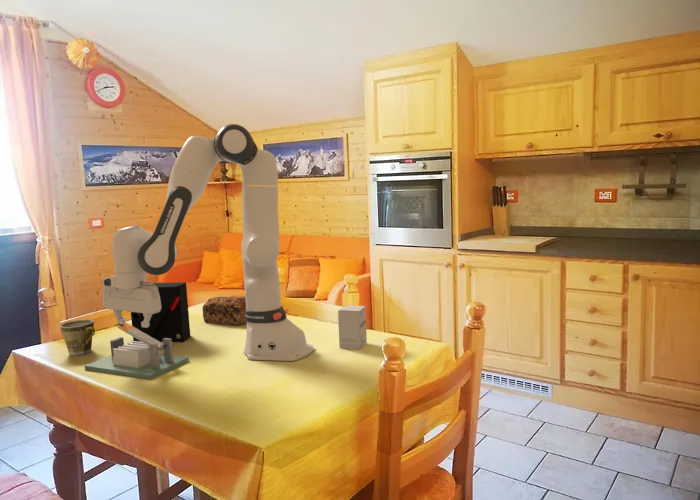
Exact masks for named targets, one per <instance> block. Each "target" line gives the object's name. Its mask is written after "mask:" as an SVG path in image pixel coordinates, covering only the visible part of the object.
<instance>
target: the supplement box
mask: <svg viewBox="0 0 700 500" xmlns="http://www.w3.org/2000/svg"><path fill="white" fill-rule="evenodd" d="M337 315H338V316H337V317H338V319H337V320H338V321H337V322H338V344H339V349H346V350H347V349H349V350H361V349H362V348H363V347H364V346H365V344H367V343H368V341H367V340H368V339H367V312H366V306H365V305H344V306H343V307H341V308H339V310H338V311H337Z"/></svg>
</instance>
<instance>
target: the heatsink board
mask: <svg viewBox="0 0 700 500" xmlns="http://www.w3.org/2000/svg"><path fill="white" fill-rule="evenodd" d="M109 343H110V350H111V351H110V352H111V355H109V356H107V357H104V358H101V359H98V360H96V361H93V362H91V363H87V364H86V365H84V370H85V371H93V372H99V373H106V374H111V373H112V374H111V375H118V374H119V376H126V377H132V378H139V379H145V380H152V379H155V378H156V377H159V376H160V375H162V374H164V373H167V372H169V371H171V370H173V369H175V368H177V367H180V366H181V365H184V364H185V363H188V362H190V359H189V356H180V355H175V354H174V353H173V342H172V340H171V339H170V338H164V339H163V342H162V343H163V344H166V345H167V347H166V348H164V349H163V353H161V350H159V351H158V344H153V343H151V344H149V346H148V345H146V344H145V343H143V342H138V341H133V340H132V341H131V342H128V343H127V344H125V342H124V337H122V336H120V337H117V338H114V339H112V340H109Z"/></svg>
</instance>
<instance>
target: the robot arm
mask: <svg viewBox="0 0 700 500" xmlns="http://www.w3.org/2000/svg"><path fill="white" fill-rule="evenodd" d="M218 163H225V164H237V165H238V166H239V167H240V169H241V177H242V178H241V179H242V180H241V182H242V183H241V185H242V186H241V188H242V189H241V192H242V194H241V195H242V197H241V199H242V200H241V202H242V203H241V206H242V207H241V210H242V211H241V213H242V216H241V217H242V241H241V246H240V247H241V259H242V270H243V282H244V293H245V296H244V297H245V298H246V309H245V320H246V335H245V336H246V337H245V338H246V339H245V346H244V350H243V353H244V355H245V356H246V357H247V360H252V361H253V360H254V361H256V360H257V361H281V362H282V361H283V362H284V361H285V362H286V361H287V362H292V361H293V362H294V361H297V360H300V359H303V358H305V357H307V356H309V355H310V354H311V353H313V351H314V349H315V348H314V345H313V344H309V343H307V339H306V338H307V337H306V335H305V332H304V331H303V329H301V328H300V327H299V326H297V325H296V324H295V323H293V322H292V321H291V320H290V319H288V318H287V317H288V316H287V314H289V309H284V306H282V301H281V300H282V298H281V283H280V277H279V275H280V274H279V269H278V259H279V256H280V250H281V249H280V247H281V246H280V245H281V244H280V223H279V222H280V221H279V176H278V175H279V172H278V167H277V165H278V164H277V160H276V157H275V155H274V154H273V153H272V152H271V151H268V150H266V149H260V148H258V146H257V144H256V142H255V141H254V139H253V137H252V135H251V133H250V131H248V129H246V128H245V127H244V126H243V125H239V124H237V123H228V124H225V125H224V126H223V127H221V128H220V129H219V131H218V132H217V134H216V135H215V136H214V137H212V138H207V137H205V136H201V135H193V136H190V137H188V138H187V139H186V141H185V142H184V144H183V146H182V147H181V149H180V151H179V152H178V154H177V157H176V158H175V161H174V163H173V166H172V168H171V172H170V174H169V179H168V184H167V189H166V190H167V191H166V198H165V203H164V206H163V209H162V211H161V214H160V216H159V220H158V222H157V224H156V226H155V229H154V231H153V232H150V231H148V230H146V229H144V228H142V227H141V225H131V226H125V227H123V228H119V229H117V230H116V231H114V234H113V236H112V258H113V262H114V267H113V268H114V269H113V275H111V276H107V277H106V278H103V279H102V280H101V284H102V286H103V288H102V303H103V306H104V308H105V309H106V310H113V315H114V317H115V318H116V323H117V325H119V324H125V322H126V318H125V317H124V316H123V314H122V312H130V313H131V312H137V313H143V317H145V318H144V321H142V322H141V327H144V328H147V327H149V321H150V319H151V317H152V314H155V313H158V312H160V310H161V300H160V295H159V291H158V287H157V286H156V285H155V284H154V283H155V282H152V281H150V282H149V281H147V274H150V275H152V276H160V275H164V274H167V273H168V272H169V271H170V270H171V269H172V268H173V267H174V265H175V260H176V258H177V256H178V246H177V245H176V241H177V238H178V235H179V233H180V231H181V228H182V225H183V223H184V220H185V218H186V216H187V214H188V213H189V211H190V210H191V209H192V207H193V206H194V205H195V204H196V203H197V202H198V201H199V199H200V198H201V196H203V194H204V192H205V189H206V188H207V185H208V183H209V181H210V179H211V176H212V173H213V171H214V169H215V167H216V166H217V165H218Z"/></svg>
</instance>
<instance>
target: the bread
mask: <svg viewBox="0 0 700 500" xmlns="http://www.w3.org/2000/svg"><path fill="white" fill-rule="evenodd" d="M201 309H202V318H203V321H204V323H206V324H207V323H210V324H217V325H218V324H219V325H229V326H242V325H247V323H246V320H245V309H246V298H245V296H234V295H233V296H216V297H211V298H209V299H208V300H207V301H206V302H205V303H204V304H203V306H202V308H201Z"/></svg>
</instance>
